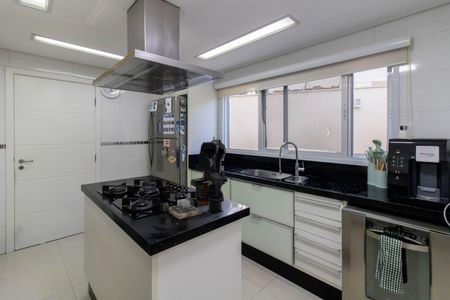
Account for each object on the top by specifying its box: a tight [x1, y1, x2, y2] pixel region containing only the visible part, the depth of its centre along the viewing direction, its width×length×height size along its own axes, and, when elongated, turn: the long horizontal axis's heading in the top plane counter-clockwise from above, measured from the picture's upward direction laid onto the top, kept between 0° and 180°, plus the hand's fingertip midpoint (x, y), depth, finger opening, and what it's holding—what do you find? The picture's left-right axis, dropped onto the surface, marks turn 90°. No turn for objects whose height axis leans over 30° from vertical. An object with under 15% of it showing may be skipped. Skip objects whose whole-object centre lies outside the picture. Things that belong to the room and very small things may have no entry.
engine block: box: [176, 198, 190, 211], centre depth 129 cm, size 5×6×5 cm
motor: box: [195, 171, 212, 206], centre depth 145 cm, size 10×9×20 cm
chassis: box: [162, 197, 203, 220], centre depth 129 cm, size 17×18×5 cm
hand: (209, 197), depth 115 cm, fingers open, 9 cm apart
